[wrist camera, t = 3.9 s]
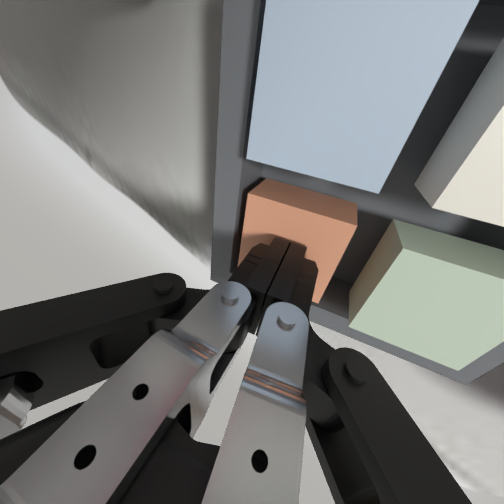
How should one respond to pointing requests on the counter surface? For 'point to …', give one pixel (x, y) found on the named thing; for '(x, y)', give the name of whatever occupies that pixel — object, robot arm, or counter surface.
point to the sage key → (431, 295)
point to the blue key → (348, 82)
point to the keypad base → (368, 203)
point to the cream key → (472, 153)
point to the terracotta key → (300, 224)
